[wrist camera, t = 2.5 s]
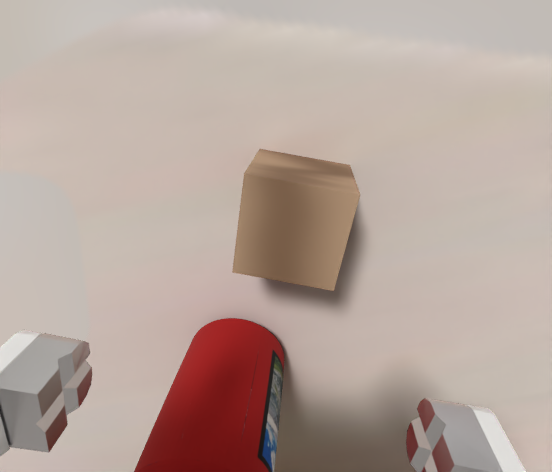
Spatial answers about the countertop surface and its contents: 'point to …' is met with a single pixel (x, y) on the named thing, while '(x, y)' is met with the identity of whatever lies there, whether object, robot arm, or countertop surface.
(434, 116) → the countertop surface
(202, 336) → the beverage can
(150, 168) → the countertop surface
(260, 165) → the walnut block
